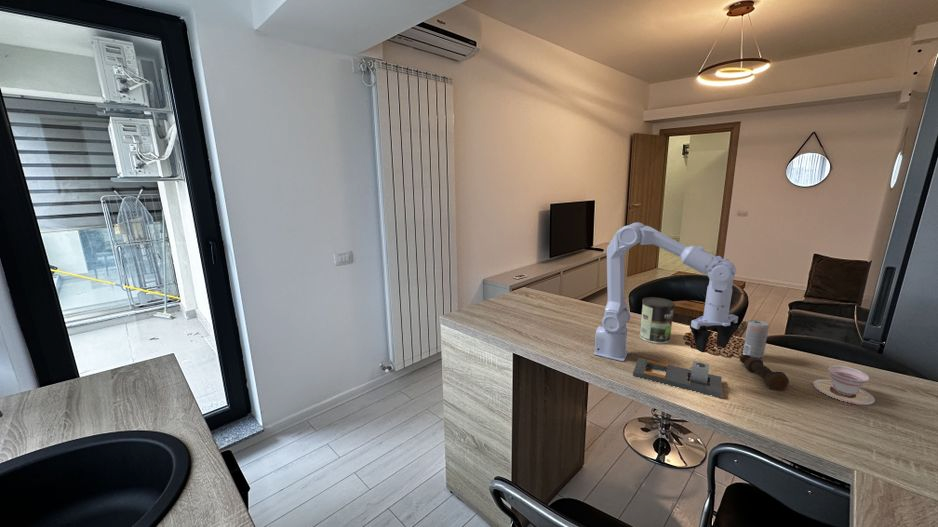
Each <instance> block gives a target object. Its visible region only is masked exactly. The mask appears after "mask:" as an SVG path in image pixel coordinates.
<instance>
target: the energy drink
mask: <svg viewBox="0 0 938 527" xmlns="http://www.w3.org/2000/svg"><path fill="white" fill-rule="evenodd" d="M769 329H770V326H769V323H767V321H763V320H759V319H750V320H749V321H748V322H747V326H746V332H745V338H744V343H743V344H744V345H743V349H742V350H743V351H742V355H750V356H751V357H757V358H759V359H761V361H763V359H764V355H765V351H766V344H767V339H768V334H769Z"/></svg>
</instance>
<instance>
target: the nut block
mask: <svg viewBox="0 0 938 527" xmlns="http://www.w3.org/2000/svg"><path fill="white" fill-rule="evenodd" d="M691 364H692V365H691V369H690V370H691V377H690V378H689V382H693V383H697V384H701V385H705V386H708V382H707V380H708V374H710V363H706V362H703V361H697V360H692V363H691Z"/></svg>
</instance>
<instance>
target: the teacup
mask: <svg viewBox="0 0 938 527" xmlns="http://www.w3.org/2000/svg"><path fill="white" fill-rule="evenodd" d="M828 372H829V373H830V377H831V378H832V379H827V378H826V379H816V380H814V381H813V383H812V384H814V385H813V387H814V388H815V389H816V390H817V391H818V390H819V391H818V392H820V393H821V392H822V393H821V394H823V393H824V394H823V395H825V394H826V395H825V396H828V397H829V396H830V397H829V398H831V397H832V399H834V398H835V400H837V399H838V398H836V397H833V396H831V395H829V394H827V393H825V392H823V391H822V390H820V389H819V388H818V387H817V383H818V382H821V381H832V383H831V386H832V387H833V389H834V390H836V391H837V392H838V393H837V392H836V391H835V392H836V393H837V394H839V393H841V394H844V395H843V396H845V395H850V396H849V397H852V396H855V395H854V394H858V393H859V390H861V391H863V392H864V393H865V394H867V395H868V396H869V399H870V400H869V401H868V402H865V403H855V402H849V401H845V400H842V399H838V400H837V401H839V400H840V401H841V402H843V401H844V403H847V402H848V403H847V404H851V403H852V404H853V405H856V406H857V405H858V406H870V405H873V404H874V403H875V402H876V400H875V397H874V396H873V395H872V394H871V393H869V392H868V391H866V390H864V389H863V388H861V387H862V386H863V385H864V384H866V383H868V382H870V376H869V375H868V374H866V373H865V372H862V371H861V370H858V369H856V368H853V367H850V366H847V365H846V366H845V365H839V364H833V365H830V366H829V367H828ZM841 394H840V395H841ZM851 395H852V396H851Z"/></svg>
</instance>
